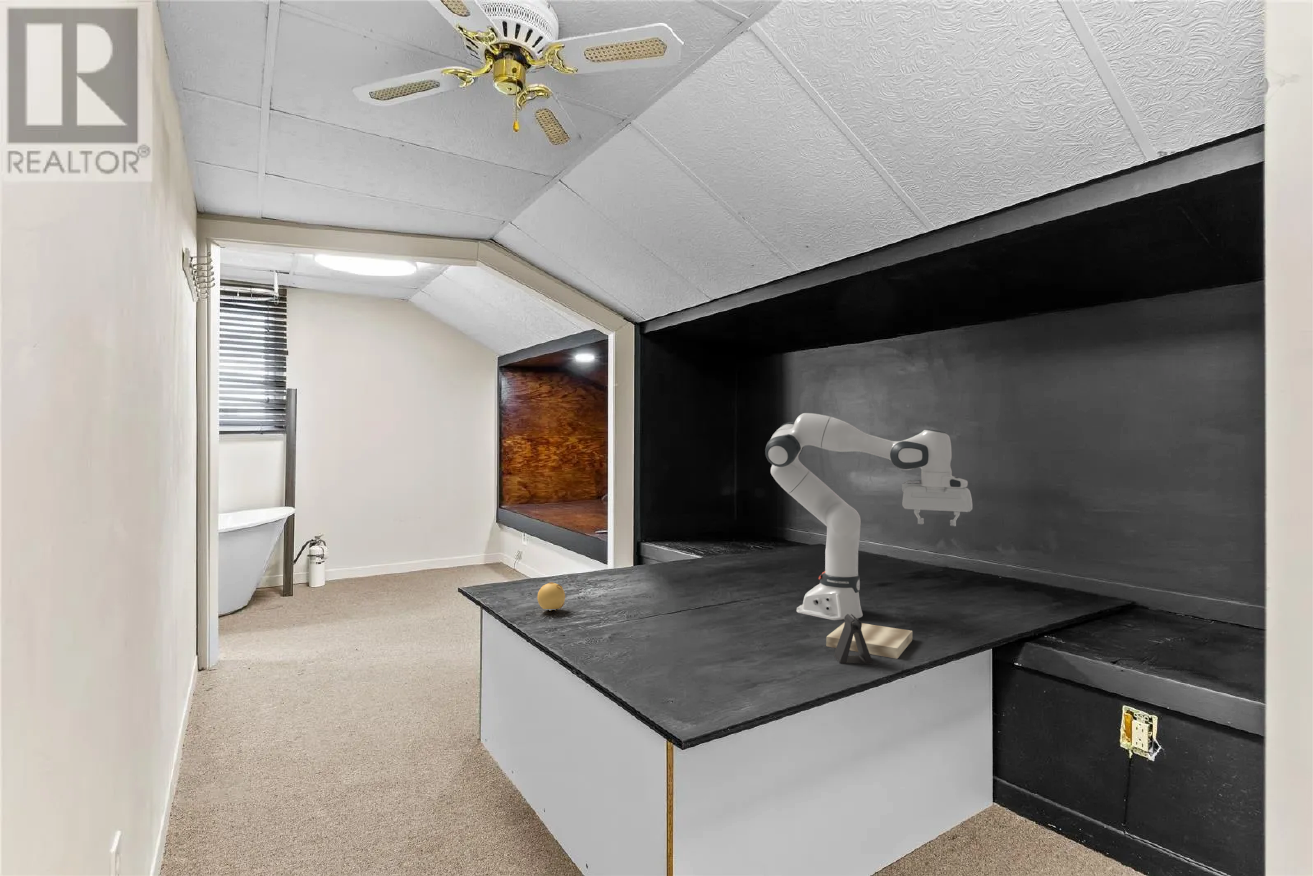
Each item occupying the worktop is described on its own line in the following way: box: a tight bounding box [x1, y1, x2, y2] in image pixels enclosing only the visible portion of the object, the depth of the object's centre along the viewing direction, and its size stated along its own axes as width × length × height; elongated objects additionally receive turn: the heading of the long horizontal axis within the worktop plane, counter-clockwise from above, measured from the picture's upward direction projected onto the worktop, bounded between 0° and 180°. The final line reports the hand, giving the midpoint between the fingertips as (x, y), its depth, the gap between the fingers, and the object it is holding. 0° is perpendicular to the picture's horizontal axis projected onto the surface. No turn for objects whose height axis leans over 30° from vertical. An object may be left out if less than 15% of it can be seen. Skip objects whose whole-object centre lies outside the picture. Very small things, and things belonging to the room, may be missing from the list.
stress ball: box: [537, 581, 566, 610], centre depth 230 cm, size 10×10×10 cm
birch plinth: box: [825, 621, 913, 660], centre depth 193 cm, size 20×20×3 cm
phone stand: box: [833, 614, 874, 665], centre depth 178 cm, size 9×6×12 cm, turn 90°
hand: (936, 524), depth 203 cm, fingers open, 8 cm apart
